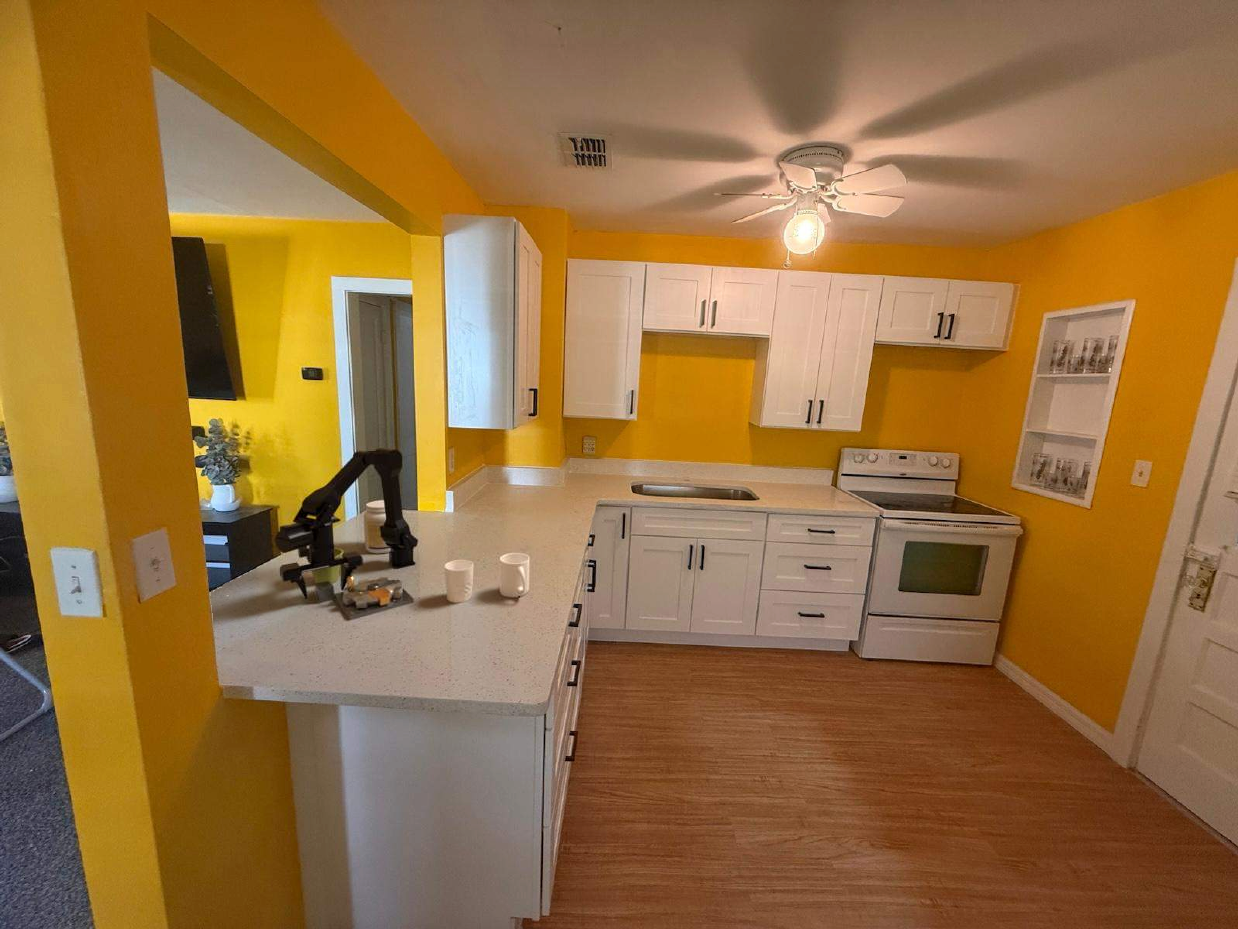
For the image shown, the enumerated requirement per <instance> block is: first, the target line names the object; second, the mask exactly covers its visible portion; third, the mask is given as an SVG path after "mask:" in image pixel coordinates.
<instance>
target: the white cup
mask: <svg viewBox="0 0 1238 929" xmlns="http://www.w3.org/2000/svg"><path fill="white" fill-rule="evenodd" d="M474 565H475V563H474V562H473V561H471V560H468V559H455V560H451V561H449V562H447V563H445V564H444V577H445V579H444V582H445V590H446V600H447V601H448V602H451V603H456V604H457V603H458V604H459V603H464V602H467V601H469V600H470V599H471V598H472V592H473V582H474Z"/></svg>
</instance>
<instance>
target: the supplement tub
mask: <svg viewBox="0 0 1238 929" xmlns="http://www.w3.org/2000/svg"><path fill="white" fill-rule="evenodd" d="M365 504H366V507H365V510H366V511H365V512H364V514H363V528H364V545H365V546H364V548H365V551H367V552H368V553H371V554H387V553H388V554H389V551H391V549H390V546H386V543H385V541H383V539H382V537H380V535H381V531H380V526H381V525H383V524H384V522H385V521H386V514H385V506H384V499H381V500H380V499H379V500H374V501H370V502H368V503H365Z"/></svg>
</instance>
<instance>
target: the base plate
mask: <svg viewBox="0 0 1238 929" xmlns="http://www.w3.org/2000/svg"><path fill="white" fill-rule="evenodd" d="M390 580H391V581H394V580H395V579H390ZM343 595H344V591H340V592H336V593H334V601H336V603H337V604H338V606H339V607H340V608H341V610H342V611H343V613H344V614H345V616H346V617H347V618H348V620H350V621H351V620H355V619H360V618H362V617H367V616H371V615H373V614H377V613H379V612H380V613H381V612H383V611H387V610H391V609H394V608H398V607H402V606H405V605H409V604H412V603H415V598H414V597H413V596H411V594H410V593H409V592H408V591H406V589H404V588H403V594H402V595H401V596H400V597H393V598H392V599H390V603H387V604H384V605H381V606H380V605H379V604H374V605H368V606H367V607H366V608H357V607H356V604H353V603H352V604H349V605H346V604H344V603H343Z"/></svg>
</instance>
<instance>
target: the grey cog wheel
mask: <svg viewBox="0 0 1238 929" xmlns="http://www.w3.org/2000/svg"><path fill="white" fill-rule="evenodd" d="M354 576H355V575H350V576H348V577H347V583H346V586H345V588H344V590H343V591H342V592H344V595H343V603H344V604H346V605H349V604H352V603H353V604H356V607H357V608H366V607H367V606H368V605H374V604H379V605H380V606H381V605H384V604H387V603H390V599H392V598H393V597H400V596H401V595H402V594H403V589H404V587H403V582H402V581H401V580H399V579H393V580H394V581H391V580H392V579H390V578H389V576H387V577H386V576H382V577H379V578H377V579H371V580H370V579H367V578H365V579H362V580H359V581H358V582H357V584H355V577H354Z"/></svg>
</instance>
